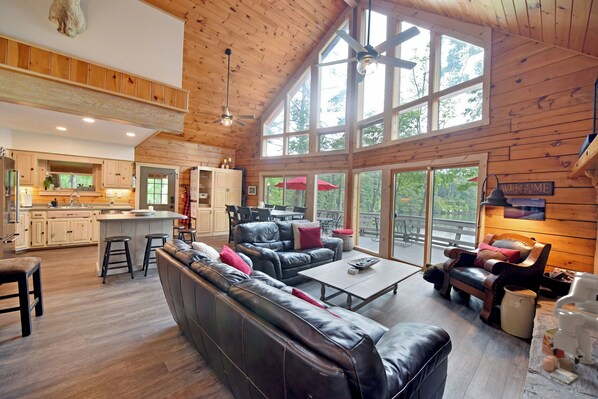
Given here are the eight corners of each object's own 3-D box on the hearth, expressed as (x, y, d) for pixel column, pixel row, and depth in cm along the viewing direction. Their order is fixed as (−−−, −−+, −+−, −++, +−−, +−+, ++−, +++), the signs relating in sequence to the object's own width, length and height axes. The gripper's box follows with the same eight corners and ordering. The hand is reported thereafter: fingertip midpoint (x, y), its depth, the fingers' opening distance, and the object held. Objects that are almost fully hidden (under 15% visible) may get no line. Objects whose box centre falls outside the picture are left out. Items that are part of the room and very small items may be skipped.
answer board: (559, 369, 160) (559, 367, 160) (577, 377, 153) (577, 375, 153) (549, 375, 154) (549, 373, 154) (568, 384, 146) (568, 382, 146)
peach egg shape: (549, 363, 165) (549, 354, 165) (559, 368, 161) (559, 358, 161) (545, 365, 163) (545, 356, 163) (556, 370, 159) (556, 360, 159)
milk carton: (552, 351, 179) (552, 323, 179) (566, 359, 170) (566, 330, 170) (539, 351, 179) (540, 323, 179) (553, 359, 170) (553, 330, 170)
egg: (544, 366, 162) (544, 357, 162) (555, 371, 158) (555, 361, 158) (541, 368, 160) (541, 359, 160) (551, 373, 156) (551, 363, 156)
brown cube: (562, 365, 164) (562, 357, 164) (573, 369, 159) (573, 362, 159) (559, 367, 162) (559, 359, 162) (570, 372, 157) (570, 364, 157)
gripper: (545, 327, 167) (545, 353, 166) (583, 340, 151) (583, 369, 151) (550, 325, 170) (550, 351, 170) (588, 338, 155) (587, 366, 154)
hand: (565, 359), depth 160 cm, fingers open, 9 cm apart
